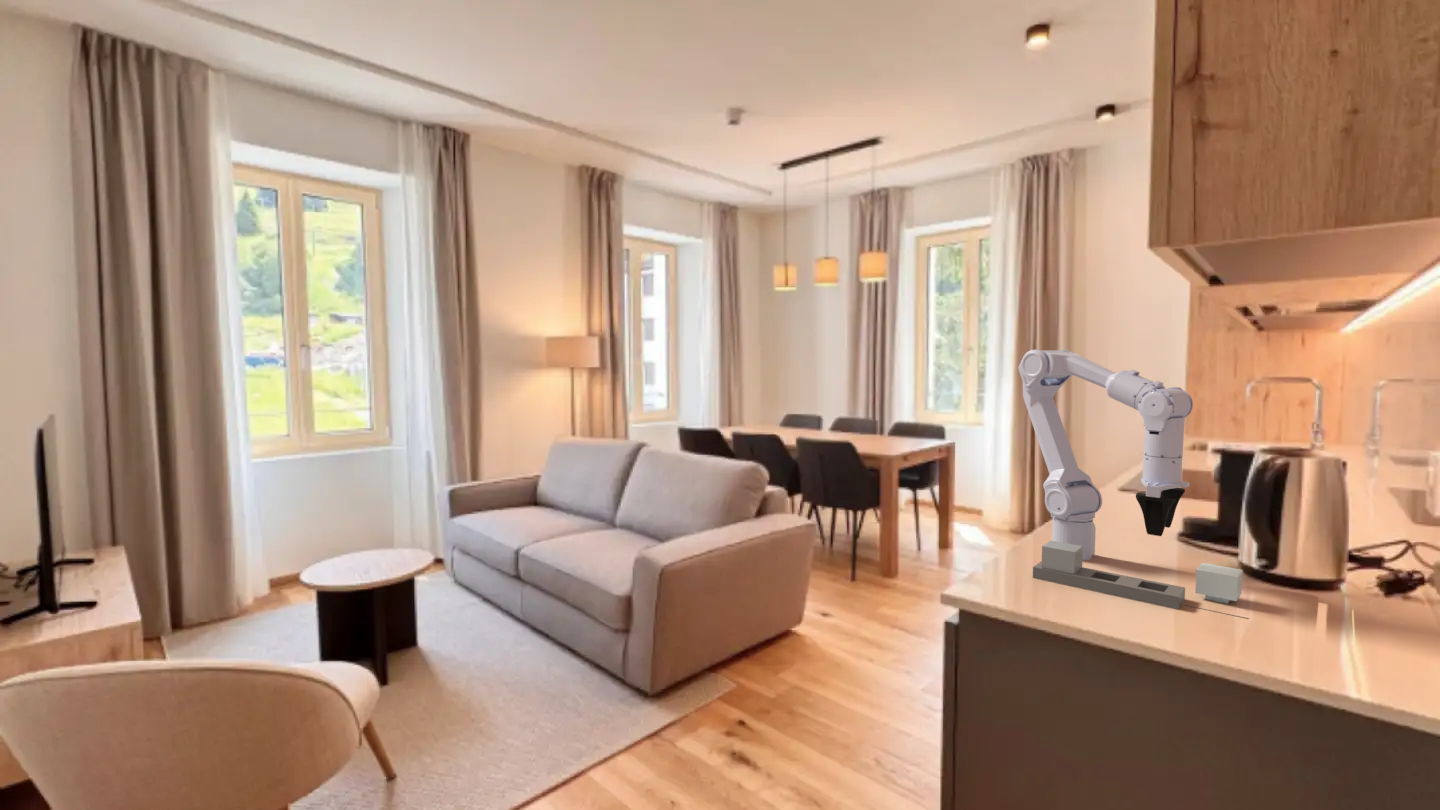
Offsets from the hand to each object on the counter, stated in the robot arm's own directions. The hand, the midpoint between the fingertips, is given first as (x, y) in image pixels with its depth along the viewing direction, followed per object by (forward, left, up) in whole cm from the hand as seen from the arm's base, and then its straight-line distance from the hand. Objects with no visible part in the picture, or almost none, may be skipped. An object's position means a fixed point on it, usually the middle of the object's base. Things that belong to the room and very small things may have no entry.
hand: (1158, 530), depth 114 cm
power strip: (+10, -2, -10) cm, 15 cm away
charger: (+3, +9, -10) cm, 14 cm away
